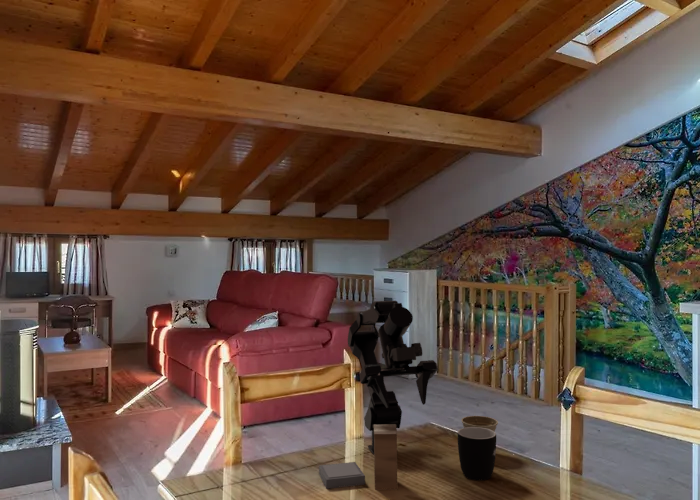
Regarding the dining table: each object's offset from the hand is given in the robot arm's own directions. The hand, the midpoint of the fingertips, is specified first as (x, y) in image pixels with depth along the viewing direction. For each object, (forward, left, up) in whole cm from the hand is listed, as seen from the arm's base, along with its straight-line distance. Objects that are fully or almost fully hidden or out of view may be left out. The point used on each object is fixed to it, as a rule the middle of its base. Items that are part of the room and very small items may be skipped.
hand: (406, 405), depth 135 cm
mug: (+3, +16, -17) cm, 24 cm away
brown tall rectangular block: (+4, -7, -17) cm, 18 cm away
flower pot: (-9, +23, -17) cm, 30 cm away
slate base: (-2, -16, -17) cm, 23 cm away
